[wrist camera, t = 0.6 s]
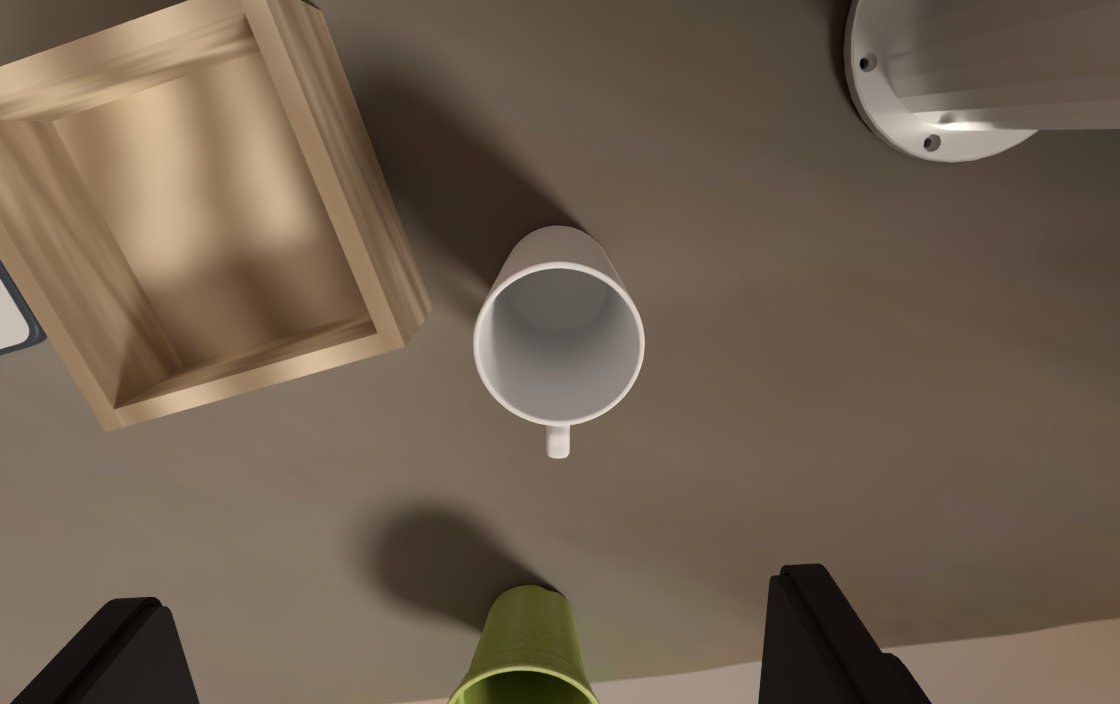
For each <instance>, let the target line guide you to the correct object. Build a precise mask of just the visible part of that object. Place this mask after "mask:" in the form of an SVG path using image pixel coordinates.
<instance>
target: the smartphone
mask: <svg viewBox="0 0 1120 704" xmlns="http://www.w3.org/2000/svg"><path fill="white" fill-rule="evenodd" d="M46 338H47V335H46V333H45V332H44V330H43V328H42V327H41V325H40V323H39V322H38V320H37V319H36V317H35V315H34V314H33V312H32V310H31V309H30V307H29V305H28V304H27V302H26V301H25V299H24V297H23V296H22V294H21V292H20V291H19V289H18V287H17V286H16V284H15V283H14V281H13V279H12V278H11V276H10V274H9V273H8V271H7V269H6V268H5V266H4V265H3V263H2V261H1V260H0V355H3V354H6V353H10V352H13V351H17V350H20V349H24V348H27V347H31V346H33V345H35V344H38V343H40V342H43V341H44V340H45V339H46Z"/></svg>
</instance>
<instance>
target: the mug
mask: <svg viewBox="0 0 1120 704" xmlns="http://www.w3.org/2000/svg"><path fill="white" fill-rule="evenodd" d="M644 344H645V343H644V331H643V326H642V322H641V319H640V316H639V313H638V311H637V309H636V307H635V305H634V303H633V301H632V299H631V297H630V295H629V294H628V292H627V290H626V288H625V287H624V285H623V283H622V281H621V280H620V278H619V276H618V274H617V273H616V271H615V269H614V267H613V265H612V263H611V262H610V260H609V258H608V257H607V255H606V253H605V252H604V250H603V249H602V247H601V246H600V245H599V244H598V243H597V242H596V241H595V240H594V239H593V238H592V237H591V236H589V235H588V234H586V233H584V232H583V231H580V230H578V229H575V228H572V227H567V226H548V227H544V228H540V229H538V230H535V231H533V232H531V233H530V234H528V235H527V236H525V237H524V238H523V239H521V240H520V241H519V242H518V243H517V245H516V246H515V247H514V248H513V250H512V251H511V253H510V255H509V257H508V258H507V260H506V262H505V263H504V265H503V267H502V269H501V271H500V273H499V275H498V277H497V279H496V280H495V282H494V284H493V286H492V288H491V290H490V292H489V293H488V295H487V297H486V299H485V301H484V304H483V306H482V308H481V310H480V312H479V315H478V317H477V320H476V324H475V328H474V334H473V352H474V359H475V363H476V367H477V370H478V372H479V375H480V377H481V379H482V381H483V383H484V385H485V386H486V388H487V389H488V391H489V392H490V393H491V394H492V396H493V397H494V398H495V399H496V400H497V401H498V402H499V403H500V404H501V405H503V406H504V407H505V408H506V409H508V410H509V411H511V412H512V413H514V414H516V415H518V416H520V417H522V418H524V419H526V420H529V421H532V422H535V423H539V424H544V425H546V451H547V455H548V456H549V457H551V458H565V457H567V456H568V454H569V445H570V425H573V424H578V423H582V422H585V421H588V420H591V419H593V418H596V417H598V416H600V415H601V414H603V413H605V412H606V411H608V410H609V409H611V408H612V407H613V406H615V405H616V404H617V403H618V402H619V401H620V400H621V399H622V398H623V397H624V396H625V395H626V394H627V392H628V391H629V390H630V388H631V387H632V385H633V383H634V382H635V380H636V378H637V376H638V373H639V371H640V368H641V365H642V361H643V356H644Z"/></svg>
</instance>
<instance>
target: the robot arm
mask: <svg viewBox="0 0 1120 704" xmlns="http://www.w3.org/2000/svg"><path fill="white" fill-rule="evenodd" d="M843 52H844V65H845V76H846V80H847V84H848V87H849V91H850V95H851V98H852V100H853V102H854V104H855V106H856V108H857V110H858V112H859V114H860V116H861V118H862V120H863V121H864V122H865V123H866V124H867V126H868V127H869V128H870V129H871V131H872V132H873V133H874V134H875V135H876V136H877V137H878V138H880V139H881V140H882V141H883V142H885V143H886V144H887V145H889V146H890V147H891V148H893V149H895V150H897V151H899V152H902V153H904V154H906V155H908V156H910V157H914V158H919V159H924V160H929V161H940V162H961V161H971V160H977V159H981V158H984V157H987V156H991V155H994V154H998V153H1000V152H1002V151H1004V150H1006V149H1008V148H1010V147H1013V146H1015V145H1017V144H1019V143H1021V142H1022V141H1024V140H1025V139H1027V138H1028V137H1030V136H1031V135H1033V134H1034V133H1035V132H1037V131H1038V130H1062V129H1120V0H852V3H851V7H850V11H849V15H848V18H847V22H846V29H845V39H844V49H843ZM861 59H862V60H863V61H864V67H863V68H862V69H861V68H860V60H861ZM925 139H926V141H927V142H926V145H925V147H924V141H925ZM10 704H200V703H199V700H198V697H197V694H196V690H195V687H194V684H193V681H192V677H191V674H190V671H189V668H188V664H187V661H186V658H185V655H184V651H183V648H182V645H181V642H180V638H179V635H178V632H177V629H176V625H175V622H174V619H173V616H172V613H171V611H170V609H169V608H168V607H165V606H162V604H161V602H160V601H159V600H158V599H157V598H155V597H139V598H119V599H113V600H111V601H109V602H108V603H106V604H105V605H104V606H103V607H102V608H101V609H100V610H99V611H98V612H97V613H96V614H95V615H94V616H93V617H92V618H91V619H90V620H89V621H88V622H87V624H86V625H85V626H84V627H83V628H82V629H81V630H80V631H79V632H78V633H77V634H76V635H75V636H74V637H73V638H72V639H71V640H70V641H69V642H68V643H67V645H66V646H65V647H64V648H63V649H62V650H61V651H60V652H59V653H58V654H57V655H56V656H55V657H54V658H53V659H52V660H51V661H50V662H49V663H48V664H47V666H46V667H45V668H44V669H43V670H42V671H41V672H40V673H39V674H38V675H37V676H36V677H35V678H34V679H33V680H32V681H31V682H30V683H29V684H28V685H27V687H26V688H25V689H24V690H23V691H22V692H21V693H20V694H19V695H18V696H17V697H16V698H15V699H14V700H13V701H12V702H11V703H10ZM758 704H932V703H931V702H930V701H929V699H928V698H927V696H926V695H925V693H924V692H923V690H922V689H921V688H920V686H919V685H918V683H917V682H916V681H915V679H914V678H913V676H912V675H911V673H910V672H909V670H908V669H907V667H906V666H905V665H904V664H903V663H902V662H901V661H900V659H899V658H898V657H896V656H894V655H893V654H891V653H882V652H881V650H880V649H879V647H878V646H877V644H876V643H875V641H874V640H873V638H872V637H871V635H870V634H869V632H868V631H867V629H866V628H865V626H864V625H863V623H862V622H861V620H860V619H859V617H858V616H857V614H856V613H855V611H854V610H853V608H852V607H851V605H850V604H849V602H848V601H847V599H846V598H845V596H844V595H843V593H842V592H841V590H840V589H839V587H838V586H837V584H836V583H835V581H834V580H833V578H832V577H831V575H830V574H829V572H828V571H827V569H826V568H825V567H824V566H823V565H821V564H800V565H785V566H783V567H782V568H781V571H780V575H776V576H771V578H770V582H769V592H768V603H767V614H766V625H765V636H764V647H763V658H762V669H761V679H760V691H759V701H758Z"/></svg>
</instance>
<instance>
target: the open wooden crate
mask: <svg viewBox="0 0 1120 704" xmlns="http://www.w3.org/2000/svg"><path fill="white" fill-rule="evenodd" d="M0 260H1V261H2V263H3V265H4V266H5V268H6V269H7V271H8V273H9V274H10V276H11V278H12V279H13V281H14V283H15V284H16V286H17V287H18V289H19V291H20V292H21V294H22V296H23V297H24V299H25V301H26V302H27V304H28V305H29V307H30V309H31V310H32V312H33V314H34V315H35V317H36V319H37V320H38V322H39V323H40V325H41V327H42V328H43V330H44V332H45V333H46V335H47V337H48V338H49V340H50V341H51V343H52V345H53V346H54V348H55V350H56V351H57V353H58V355H59V356H60V358H61V359H62V361H63V363H64V364H65V366H66V368H67V369H68V371H69V373H70V374H71V376H72V377H73V379H74V381H75V382H76V384H77V386H78V387H79V389H80V391H81V392H82V394H83V395H84V397H85V399H86V400H87V402H88V404H89V405H90V407H91V409H92V410H93V412H94V413H95V415H96V417H97V418H98V420H99V422H100V423H101V425H102V427H103V428H104V430H105V431H106V432H109V431H113V430H116V429H120V428H123V427H127V426H130V425H134V424H137V423H141V422H144V421H148V420H151V419H155V418H158V417H162V416H165V415H169V414H172V413H176V412H179V411H183V410H186V409H190V408H193V407H197V406H200V405H204V404H207V403H211V402H214V401H218V400H221V399H225V398H228V397H232V396H235V395H239V394H242V393H246V392H249V391H253V390H256V389H260V388H263V387H267V386H270V385H274V384H277V383H281V382H284V381H288V380H291V379H295V378H298V377H302V376H305V375H309V374H312V373H316V372H319V371H323V370H326V369H330V368H333V367H337V366H340V365H344V364H347V363H351V362H354V361H358V360H361V359H365V358H368V357H372V356H375V355H379V354H382V353H386V352H389V351H393V350H396V349H400V348H403V347H406V345H407V344H408V342H409V341H410V340H411V338H412V337H413V335H414V334H415V333H416V331H417V330H418V328H419V327H420V326H421V324H422V323H423V321H424V320H425V319H426V317H427V316H428V314H429V313H430V312H431V310H432V309H433V305H432V303H431V300H430V297H429V295H428V292H427V289H426V287H425V284H424V282H423V279H422V276H421V274H420V271H419V268H418V266H417V263H416V260H415V258H414V255H413V252H412V250H411V247H410V244H409V242H408V239H407V236H406V234H405V231H404V228H403V226H402V223H401V220H400V218H399V215H398V213H397V210H396V207H395V205H394V202H393V199H392V197H391V194H390V191H389V189H388V186H387V183H386V181H385V178H384V175H383V173H382V170H381V167H380V165H379V162H378V159H377V157H376V154H375V151H374V149H373V146H372V144H371V141H370V138H369V136H368V133H367V130H366V128H365V125H364V122H363V120H362V117H361V114H360V112H359V109H358V106H357V104H356V101H355V98H354V96H353V93H352V90H351V88H350V85H349V83H348V80H347V77H346V75H345V72H344V69H343V67H342V64H341V61H340V59H339V56H338V53H337V51H336V48H335V45H334V43H333V40H332V37H331V35H330V32H329V29H328V27H327V24H326V21H325V19H324V16H323V14H322V11H320V10H318V9H316V8H314V7H313V6H311V5H309V4H307V3H305V2H303V1H301V0H188V1H185V2H182V3H179V4H176V5H174V6H171V7H168V8H165V9H162V10H159V11H157V12H154V13H151V14H148V15H145V16H142V17H140V18H137V19H134V20H131V21H128V22H125V23H123V24H120V25H117V26H114V27H111V28H108V29H106V30H103V31H100V32H97V33H94V34H91V35H88V36H86V37H83V38H80V39H77V40H74V41H71V42H69V43H66V44H63V45H60V46H57V47H54V48H52V49H49V50H46V51H43V52H40V53H37V54H35V55H32V56H29V57H26V58H23V59H20V60H18V61H15V62H12V63H9V64H6V65H3V66H0Z"/></svg>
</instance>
